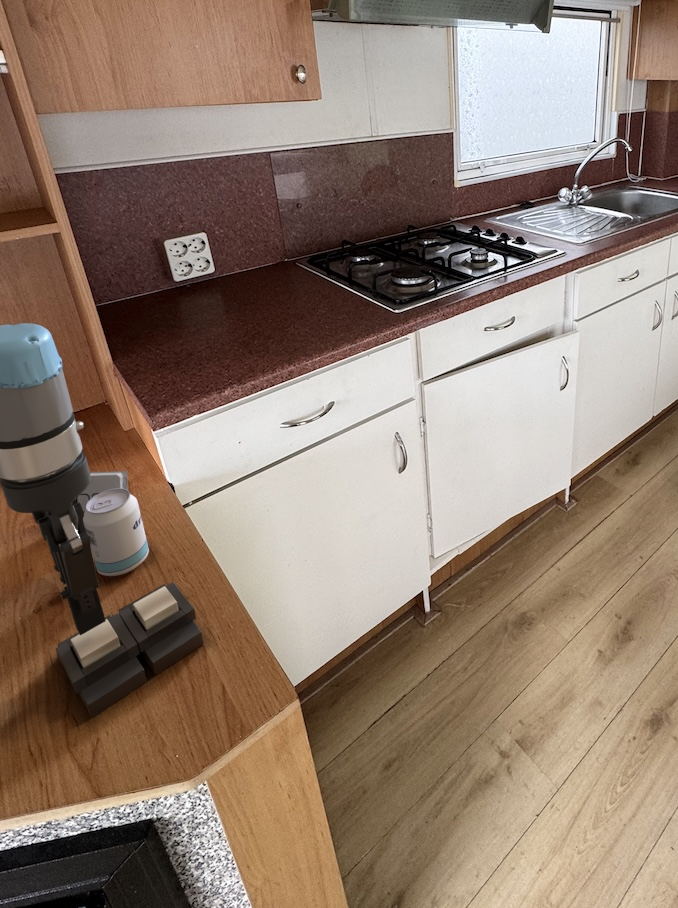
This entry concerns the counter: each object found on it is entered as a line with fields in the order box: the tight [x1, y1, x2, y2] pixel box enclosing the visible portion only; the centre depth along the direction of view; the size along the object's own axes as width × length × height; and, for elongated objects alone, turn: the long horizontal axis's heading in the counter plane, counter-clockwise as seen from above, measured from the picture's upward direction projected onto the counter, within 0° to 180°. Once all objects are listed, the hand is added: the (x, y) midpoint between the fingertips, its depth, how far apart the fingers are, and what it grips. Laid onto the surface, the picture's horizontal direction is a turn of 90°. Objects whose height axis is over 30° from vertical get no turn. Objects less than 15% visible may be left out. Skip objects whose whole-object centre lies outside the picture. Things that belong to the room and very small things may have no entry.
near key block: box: [55, 612, 147, 719], centre depth 73 cm, size 12×7×4 cm, turn 50°
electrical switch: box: [75, 470, 129, 530], centre depth 98 cm, size 9×5×9 cm, turn 95°
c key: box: [71, 619, 120, 669], centre depth 72 cm, size 4×4×2 cm
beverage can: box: [83, 488, 150, 577], centre depth 88 cm, size 7×7×12 cm
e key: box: [133, 586, 179, 630], centre depth 77 cm, size 4×4×2 cm
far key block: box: [118, 581, 205, 676], centre depth 78 cm, size 12×7×4 cm, turn 50°
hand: (91, 624), depth 71 cm, fingers closed
